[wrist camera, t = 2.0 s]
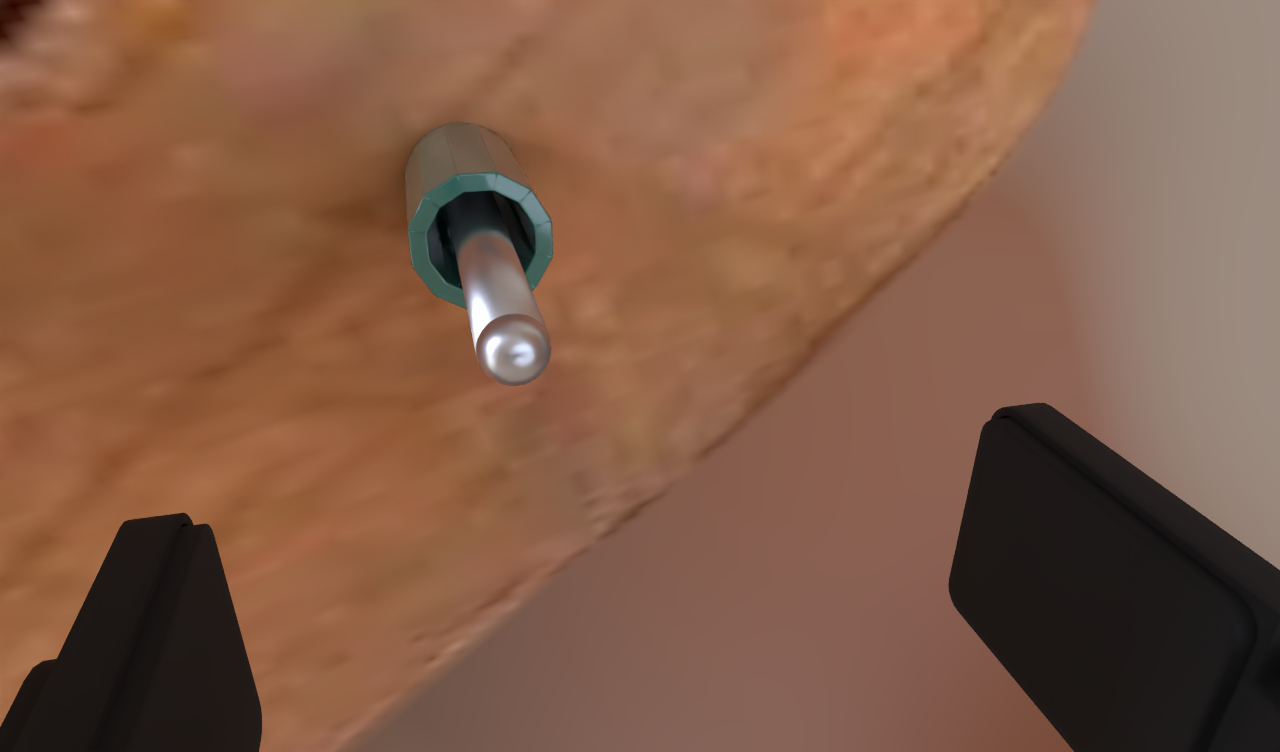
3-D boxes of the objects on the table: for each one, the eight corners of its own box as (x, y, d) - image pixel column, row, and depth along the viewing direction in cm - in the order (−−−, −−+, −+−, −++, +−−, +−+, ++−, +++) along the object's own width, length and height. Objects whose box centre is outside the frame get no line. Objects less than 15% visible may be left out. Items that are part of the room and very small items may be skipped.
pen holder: (412, 238, 29) (417, 315, 23) (399, 124, 28) (401, 176, 22) (522, 230, 30) (555, 303, 24) (517, 120, 28) (550, 169, 22)
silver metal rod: (444, 207, 29) (481, 403, 17) (439, 162, 28) (475, 332, 16) (489, 204, 29) (558, 394, 17) (485, 160, 28) (555, 324, 16)
